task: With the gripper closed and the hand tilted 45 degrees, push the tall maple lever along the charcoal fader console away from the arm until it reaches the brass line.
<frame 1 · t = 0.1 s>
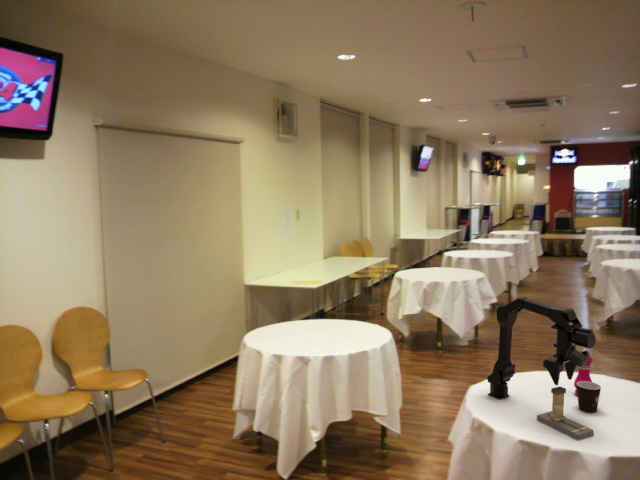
hand: (563, 382, 199), 15 cm above the table, tool pointing down, fingers open, 9 cm apart
coffee mug: (590, 409, 209), on the table
fader console: (564, 427, 194), on the table
pepper mill: (583, 395, 223), on the table
fader lever: (558, 403, 195), point 8 cm above the table, slide at 0.0 cm
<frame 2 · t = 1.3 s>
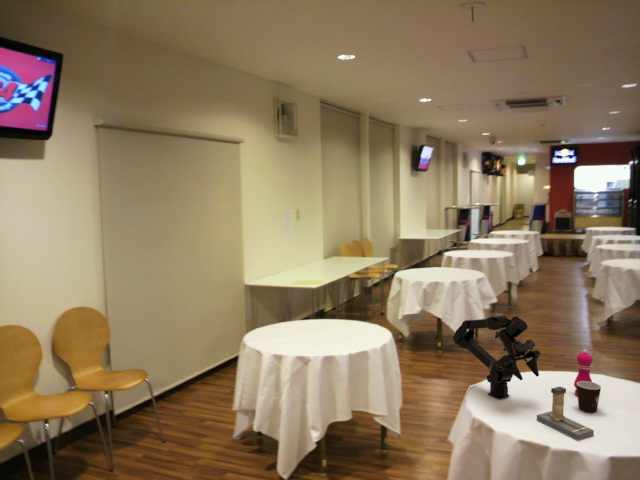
hand: (530, 377, 207), 13 cm above the table, tool tilted 45°, fingers open, 8 cm apart
nothing on the table moved.
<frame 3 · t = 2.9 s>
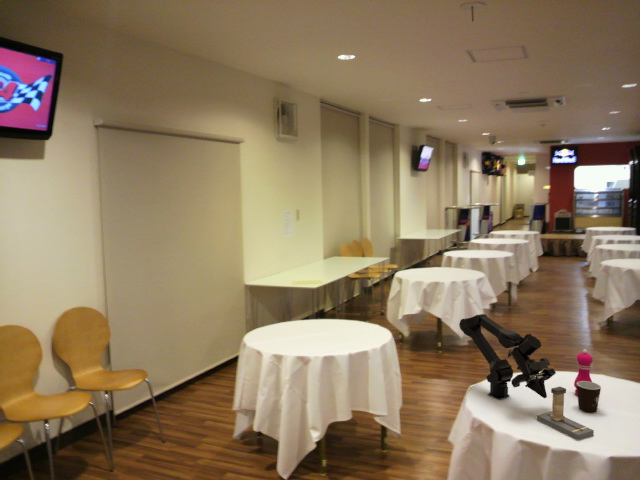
hand: (545, 397, 201), 8 cm above the table, tool tilted 45°, fingers closed
nothing on the table moved.
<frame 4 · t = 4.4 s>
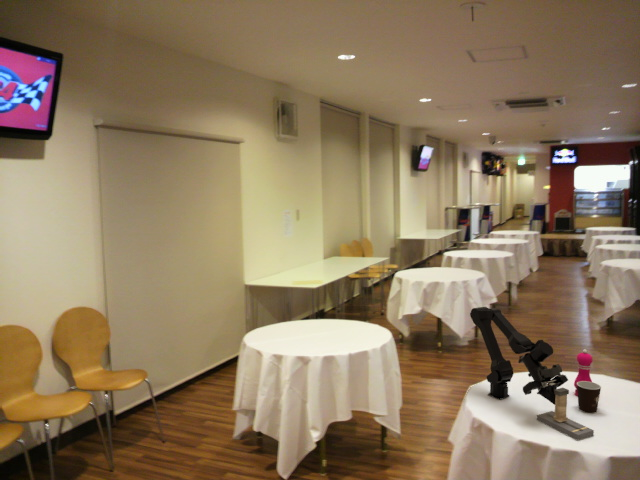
hand: (557, 405, 196), 7 cm above the table, tool tilted 45°, fingers closed, pressing on fader lever
fader lever: (560, 404, 194), point 8 cm above the table, slide at 1.3 cm, touching gripper
everything else where it was.
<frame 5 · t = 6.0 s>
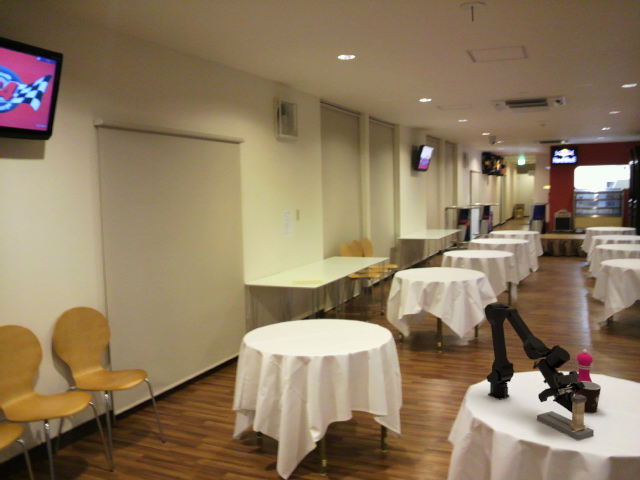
hand: (575, 413, 189), 7 cm above the table, tool tilted 45°, fingers closed, pressing on fader lever
fader lever: (578, 412, 188), point 8 cm above the table, slide at 8.6 cm, touching gripper
everything else where it was.
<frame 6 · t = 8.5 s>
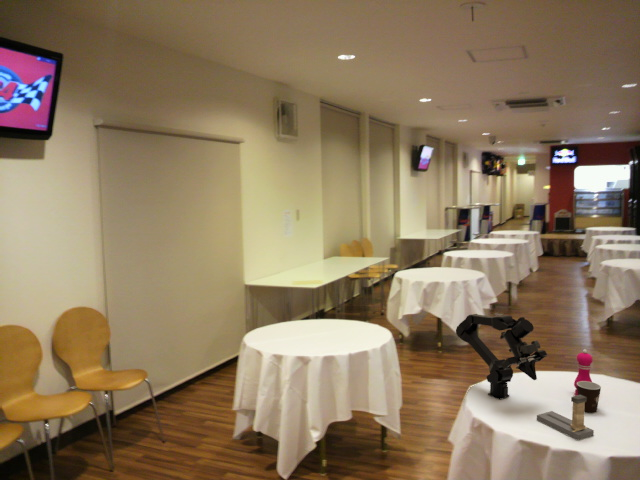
hand: (535, 379, 205), 14 cm above the table, tool tilted 40°, fingers closed
fader lever: (578, 412, 188), point 8 cm above the table, slide at 8.7 cm
everything else where it was.
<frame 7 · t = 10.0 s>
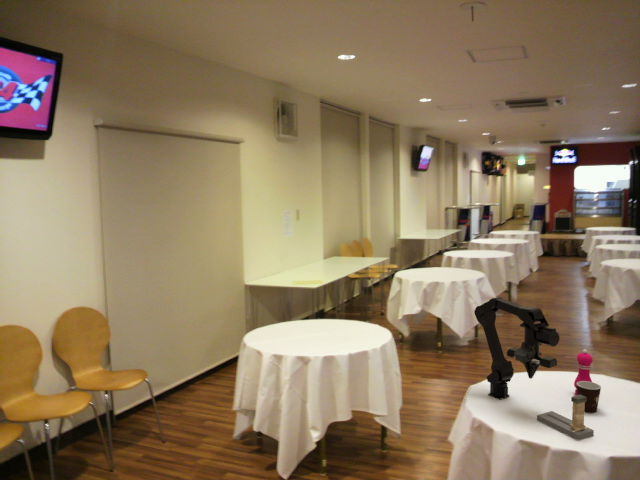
hand: (530, 378, 208), 13 cm above the table, tool pointing down, fingers closed
nothing on the table moved.
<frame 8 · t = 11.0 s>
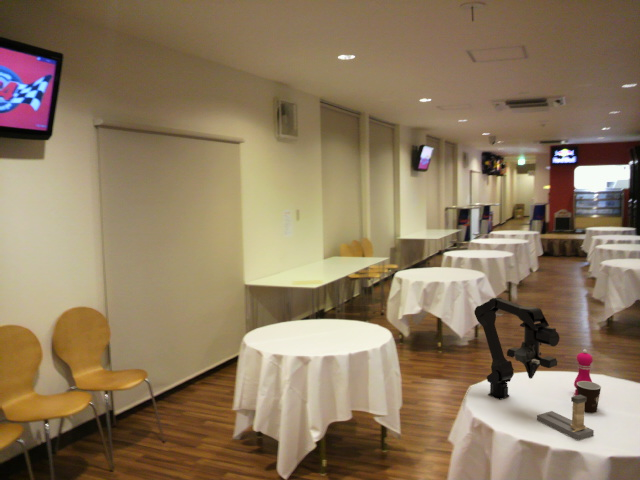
hand: (530, 378, 208), 13 cm above the table, tool pointing down, fingers closed
nothing on the table moved.
at the end: fader lever slide at 8.7 cm; coffee mug moved 0.2 cm from its start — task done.
